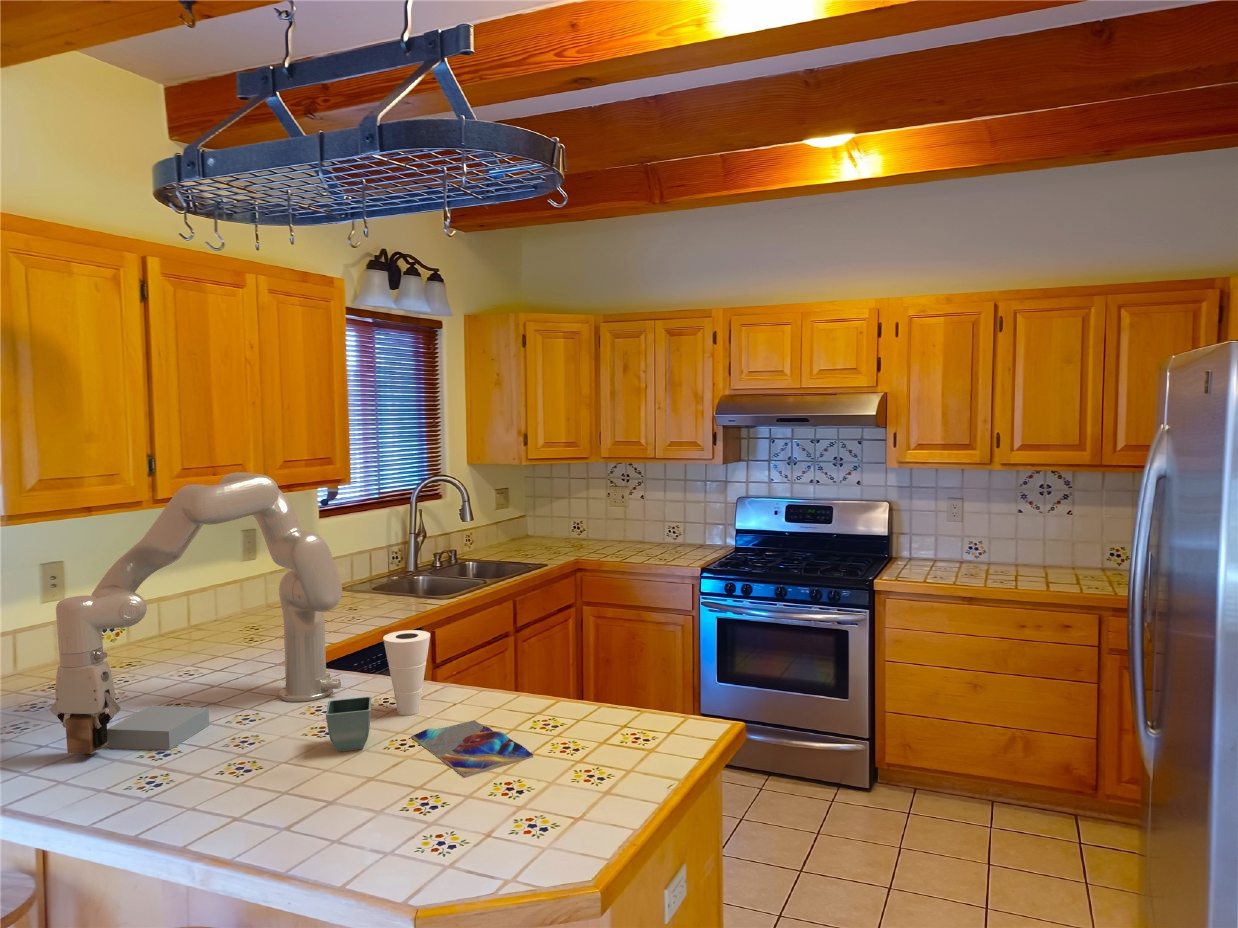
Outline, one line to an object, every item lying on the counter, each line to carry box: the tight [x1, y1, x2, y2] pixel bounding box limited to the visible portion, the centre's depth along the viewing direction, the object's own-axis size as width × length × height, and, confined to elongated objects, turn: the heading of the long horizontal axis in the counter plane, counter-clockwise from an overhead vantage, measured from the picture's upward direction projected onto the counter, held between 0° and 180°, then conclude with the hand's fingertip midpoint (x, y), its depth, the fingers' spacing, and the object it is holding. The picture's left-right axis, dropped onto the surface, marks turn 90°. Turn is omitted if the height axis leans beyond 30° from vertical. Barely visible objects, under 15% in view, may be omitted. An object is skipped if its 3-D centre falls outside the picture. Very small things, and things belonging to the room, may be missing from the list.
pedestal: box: [106, 705, 210, 751], centre depth 182 cm, size 14×14×4 cm
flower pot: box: [325, 696, 372, 752], centre depth 175 cm, size 9×9×9 cm
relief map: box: [410, 719, 534, 778], centre depth 175 cm, size 25×15×2 cm, turn 38°
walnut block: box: [65, 714, 108, 755], centre depth 171 cm, size 5×5×7 cm
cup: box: [382, 629, 431, 716], centre depth 195 cm, size 11×11×18 cm
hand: (87, 743), depth 171 cm, fingers closed on walnut block, 5 cm apart
